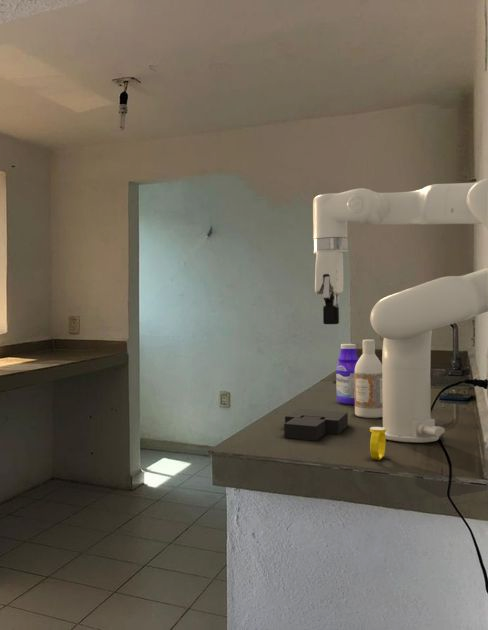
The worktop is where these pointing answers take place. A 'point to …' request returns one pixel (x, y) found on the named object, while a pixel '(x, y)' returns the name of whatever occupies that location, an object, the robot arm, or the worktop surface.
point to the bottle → (346, 374)
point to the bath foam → (368, 383)
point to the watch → (377, 442)
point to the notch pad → (323, 418)
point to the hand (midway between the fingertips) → (331, 323)
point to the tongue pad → (305, 428)
